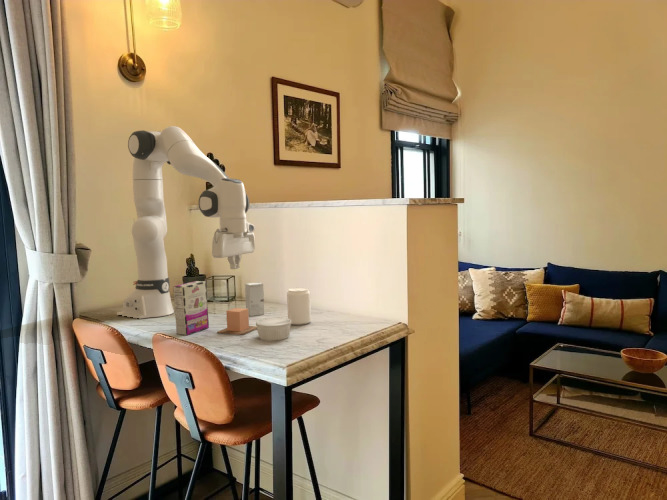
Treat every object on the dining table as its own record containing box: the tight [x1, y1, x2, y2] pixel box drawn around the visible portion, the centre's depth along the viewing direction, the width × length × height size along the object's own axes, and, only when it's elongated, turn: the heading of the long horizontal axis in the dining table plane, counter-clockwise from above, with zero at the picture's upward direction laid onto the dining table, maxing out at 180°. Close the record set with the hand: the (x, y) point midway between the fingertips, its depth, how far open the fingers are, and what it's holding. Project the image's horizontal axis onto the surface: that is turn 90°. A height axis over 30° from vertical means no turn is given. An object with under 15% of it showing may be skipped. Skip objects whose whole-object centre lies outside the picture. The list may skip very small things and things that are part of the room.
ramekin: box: [255, 316, 292, 342], centre depth 162 cm, size 11×11×5 cm
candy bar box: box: [172, 280, 210, 336], centre depth 173 cm, size 11×5×16 cm, turn 153°
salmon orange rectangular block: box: [225, 307, 250, 332], centre depth 172 cm, size 5×5×7 cm
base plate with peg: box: [216, 325, 258, 336], centre depth 172 cm, size 10×10×6 cm
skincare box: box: [244, 282, 265, 317], centre depth 197 cm, size 6×4×12 cm
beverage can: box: [286, 287, 312, 326], centre depth 181 cm, size 8×8×12 cm
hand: (235, 268), depth 171 cm, fingers closed
